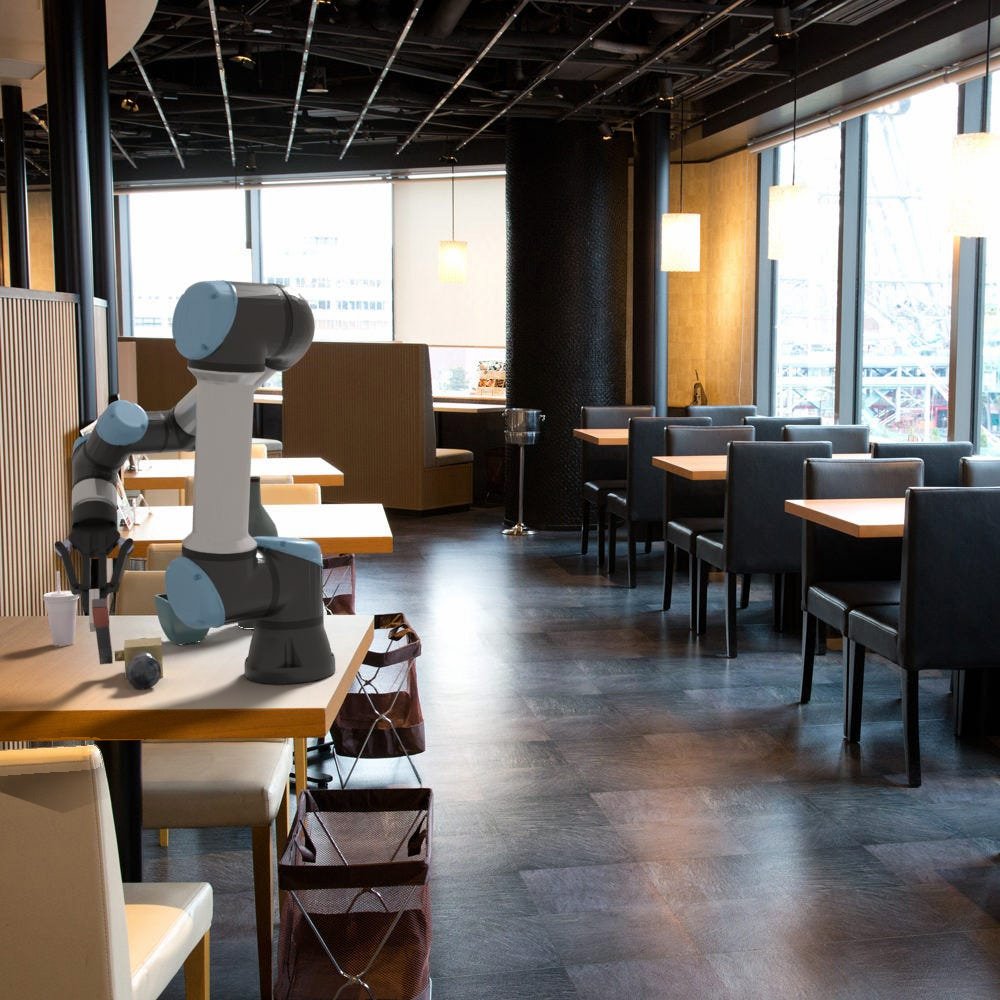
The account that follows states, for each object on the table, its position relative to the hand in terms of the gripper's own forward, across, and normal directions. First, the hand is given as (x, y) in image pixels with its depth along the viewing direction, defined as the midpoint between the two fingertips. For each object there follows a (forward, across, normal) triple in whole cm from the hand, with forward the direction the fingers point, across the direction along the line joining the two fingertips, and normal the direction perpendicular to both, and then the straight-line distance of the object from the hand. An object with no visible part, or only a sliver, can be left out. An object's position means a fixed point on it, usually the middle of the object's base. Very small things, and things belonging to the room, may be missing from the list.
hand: (94, 626), depth 194 cm
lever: (+1, -1, -10) cm, 10 cm away
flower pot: (-13, -15, -28) cm, 34 cm away
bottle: (-20, -29, -35) cm, 50 cm away
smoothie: (-16, +8, -32) cm, 37 cm away
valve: (+5, -7, -9) cm, 13 cm away
